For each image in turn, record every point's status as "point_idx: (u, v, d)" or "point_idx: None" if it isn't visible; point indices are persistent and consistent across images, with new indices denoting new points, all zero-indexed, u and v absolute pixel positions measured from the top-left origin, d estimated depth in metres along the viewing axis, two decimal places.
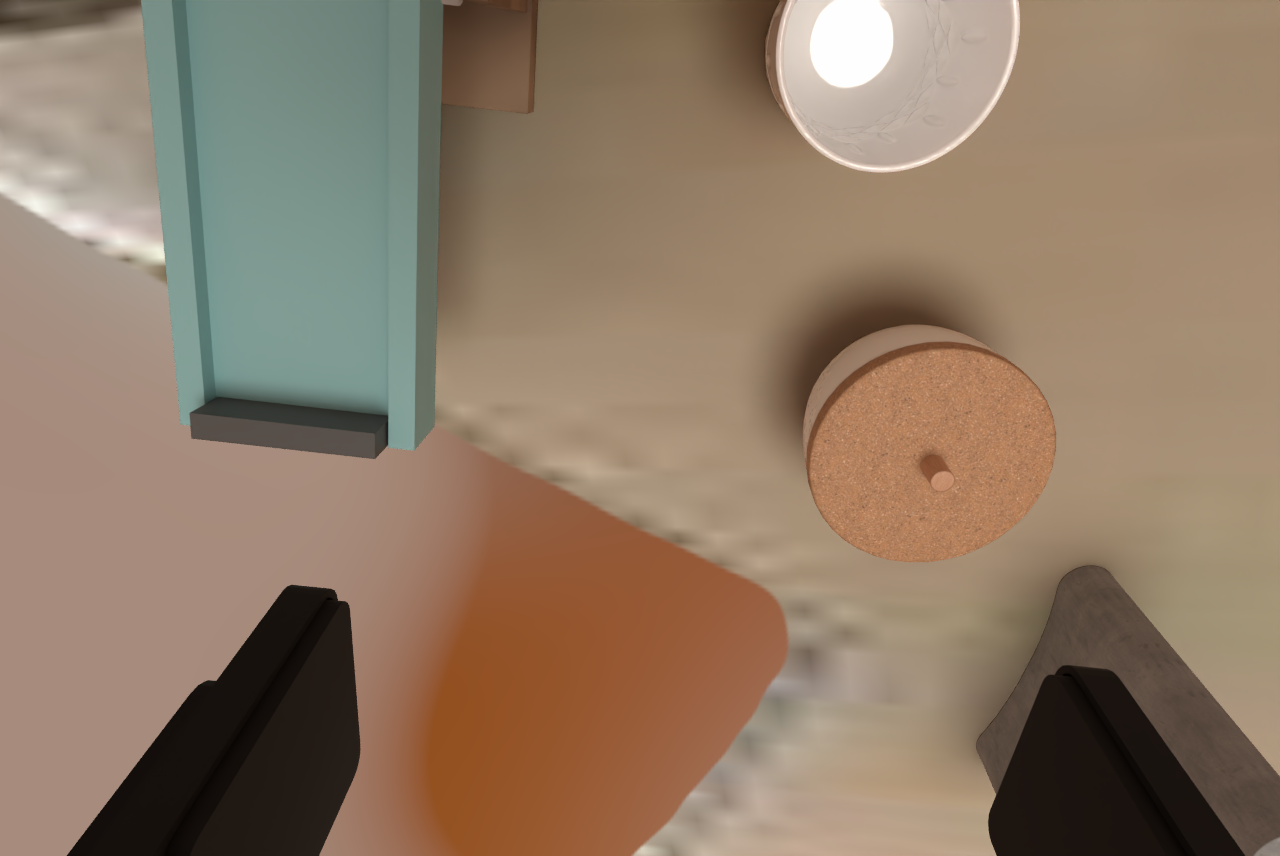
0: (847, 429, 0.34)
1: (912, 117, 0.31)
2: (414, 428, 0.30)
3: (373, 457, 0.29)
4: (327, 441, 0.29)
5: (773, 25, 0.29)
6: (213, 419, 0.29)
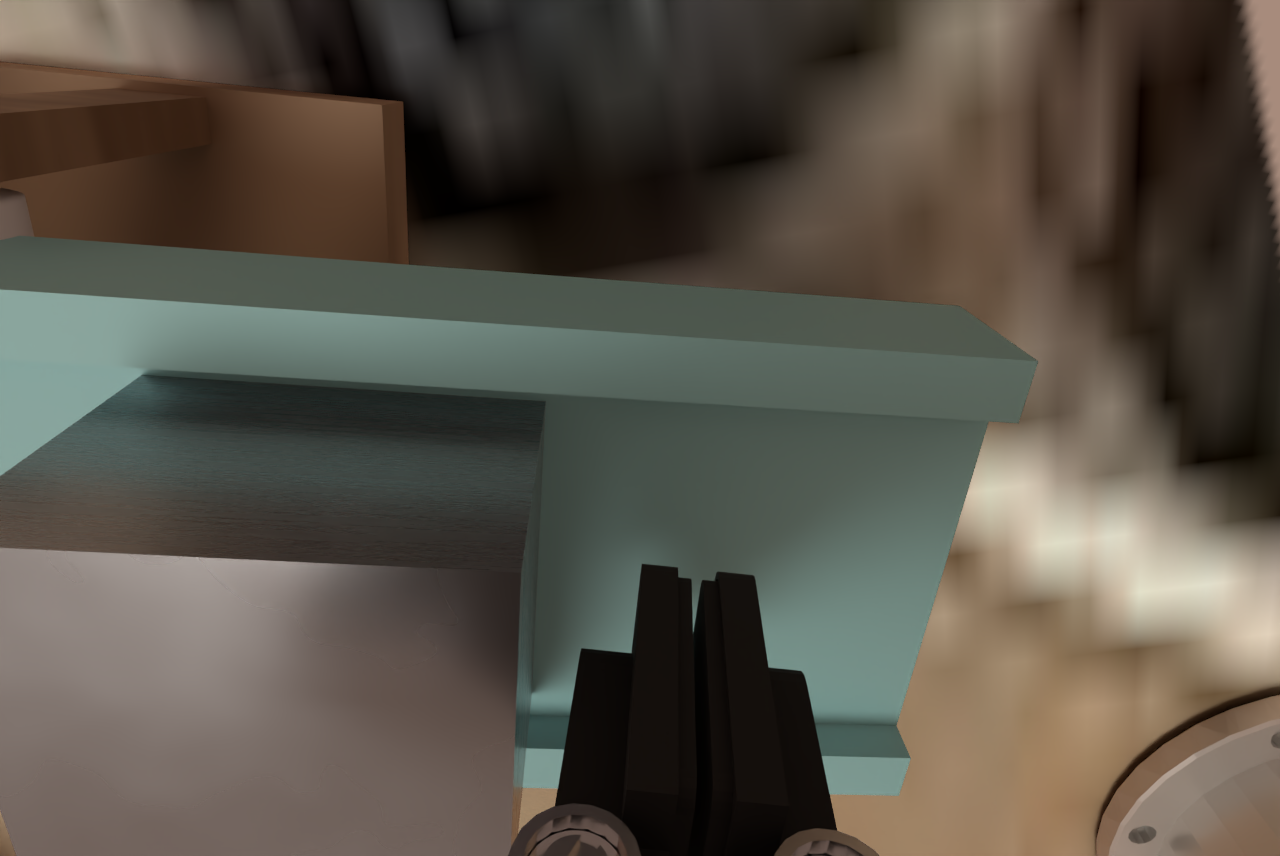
0: None
1: None
2: None
3: None
4: None
5: None
6: None
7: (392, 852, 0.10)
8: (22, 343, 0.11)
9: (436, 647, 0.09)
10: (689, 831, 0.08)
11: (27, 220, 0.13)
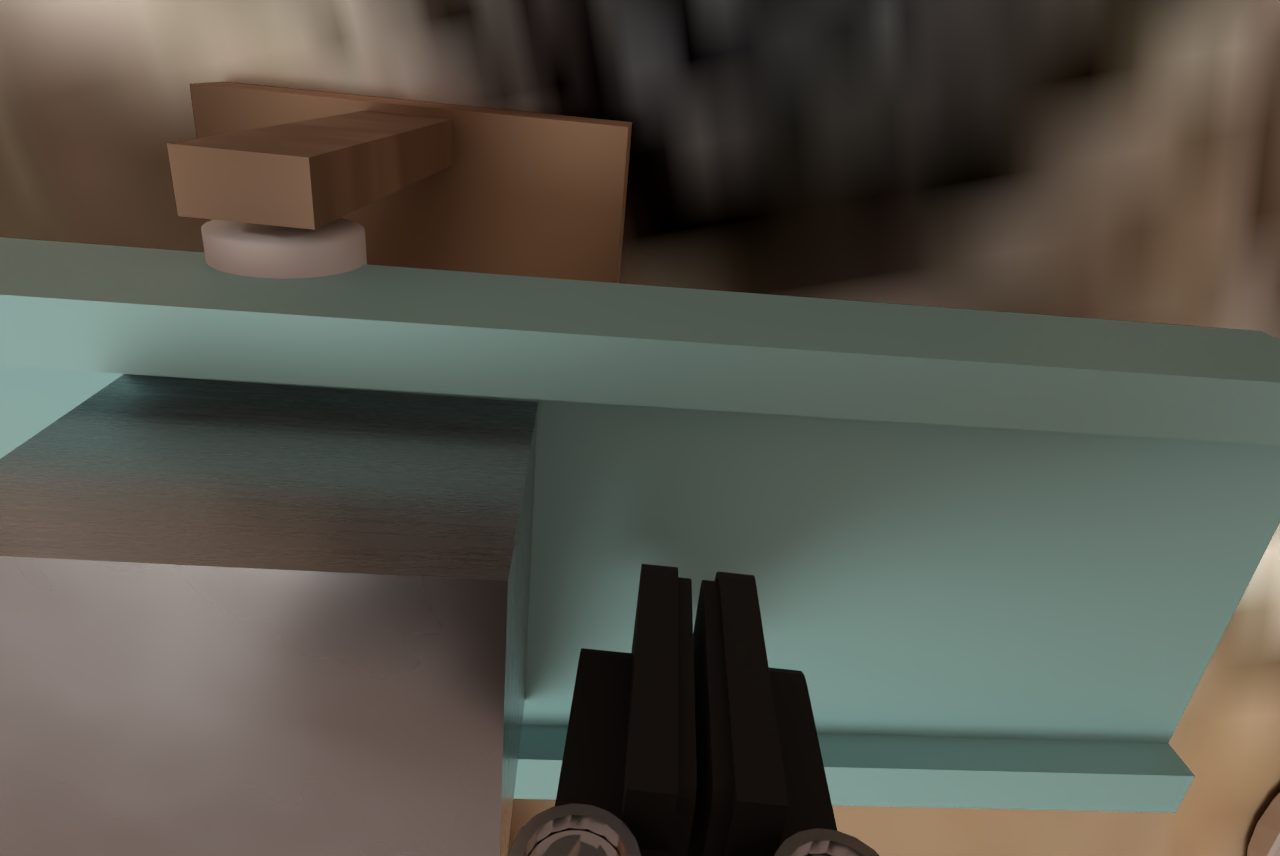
0: None
1: None
2: None
3: None
4: None
5: None
6: None
7: None
8: (433, 375, 0.11)
9: (420, 656, 0.08)
10: (689, 831, 0.08)
11: None
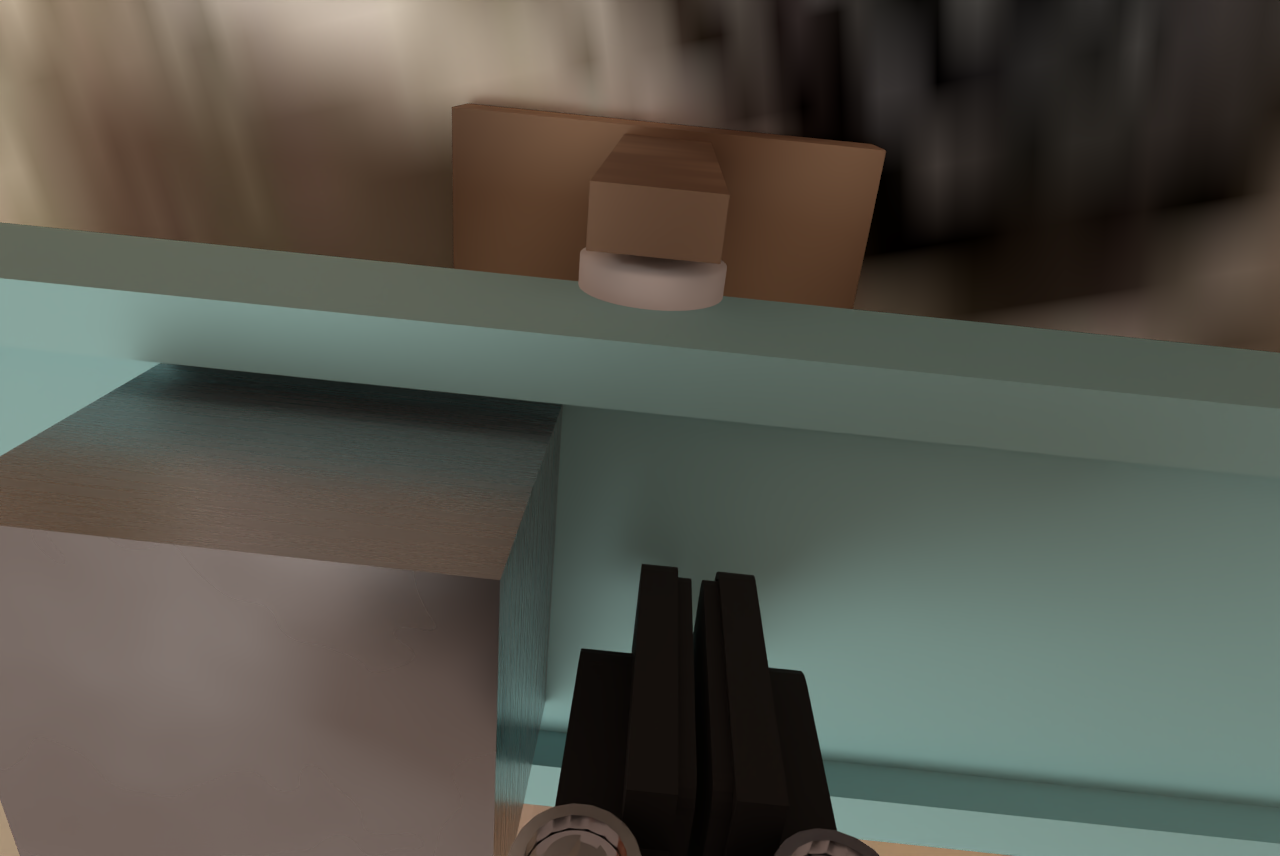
0: None
1: None
2: None
3: None
4: None
5: None
6: None
7: None
8: (841, 416, 0.11)
9: (413, 652, 0.08)
10: (689, 831, 0.08)
11: None
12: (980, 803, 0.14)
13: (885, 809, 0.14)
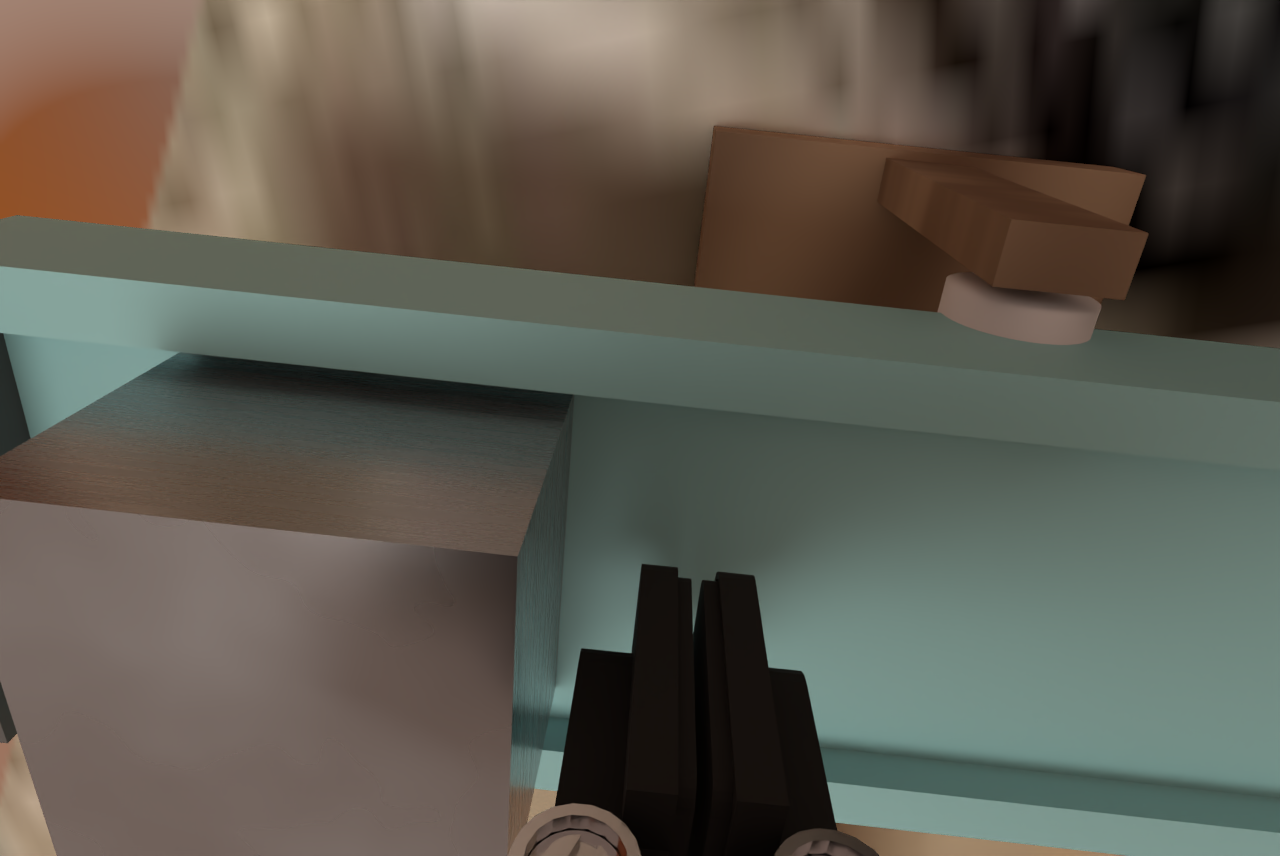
0: None
1: None
2: None
3: None
4: None
5: None
6: None
7: (390, 832, 0.10)
8: (1271, 453, 0.11)
9: (432, 627, 0.09)
10: (689, 831, 0.08)
11: None
12: None
13: (1220, 834, 0.14)
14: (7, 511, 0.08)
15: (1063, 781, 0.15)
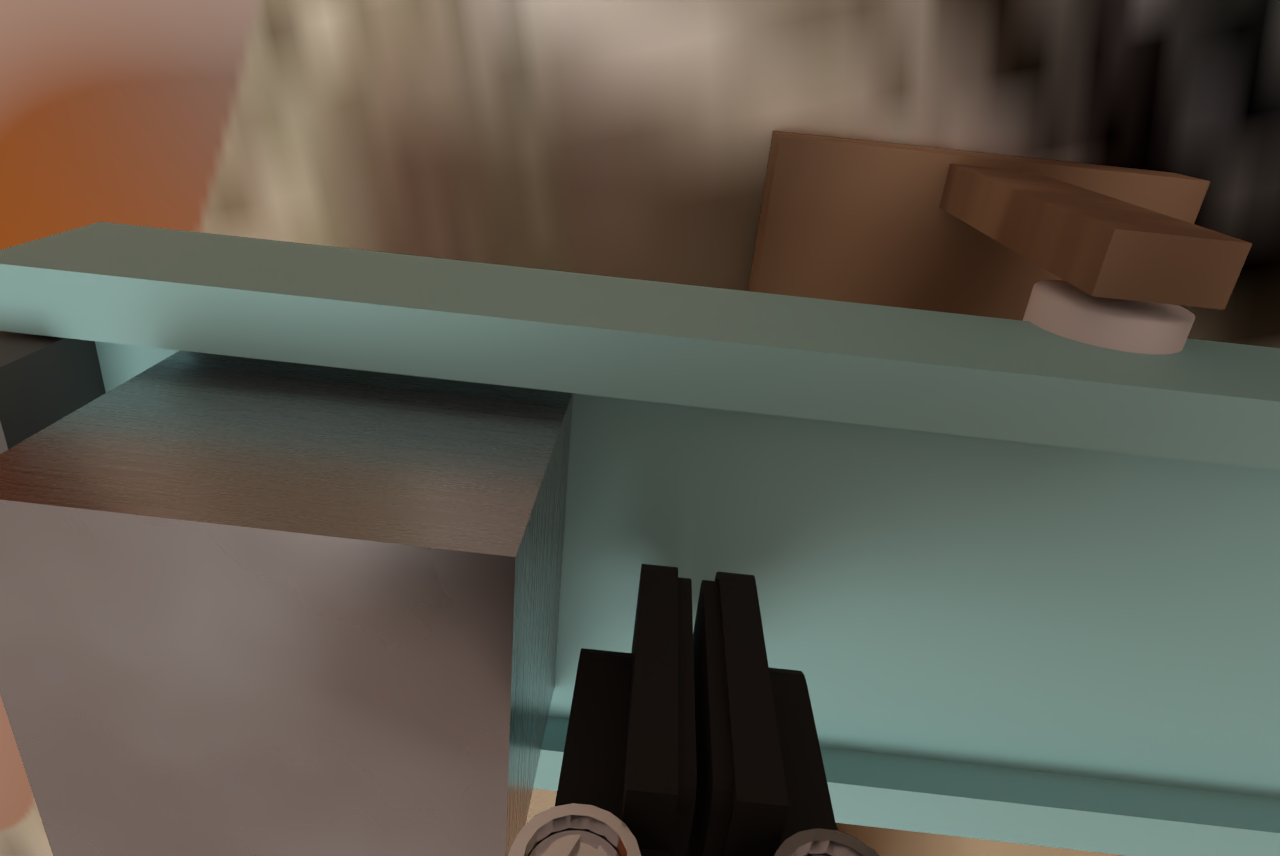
0: None
1: None
2: None
3: None
4: None
5: None
6: None
7: (388, 833, 0.10)
8: None
9: (430, 628, 0.09)
10: (689, 831, 0.08)
11: None
12: None
13: None
14: (3, 511, 0.08)
15: (1142, 790, 0.15)
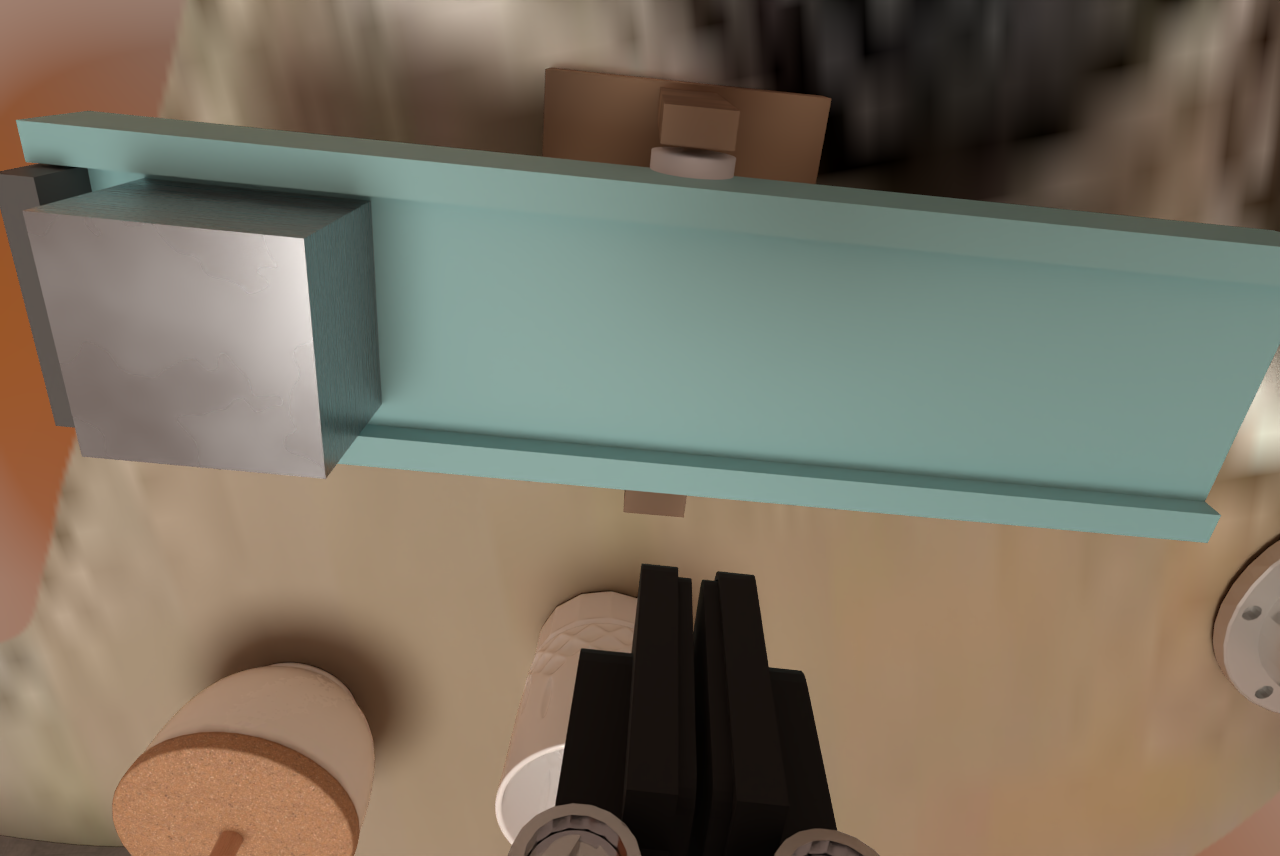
0: (248, 776, 0.34)
1: (549, 754, 0.37)
2: None
3: (57, 423, 0.22)
4: (59, 368, 0.21)
5: None
6: None
7: (257, 413, 0.19)
8: (800, 228, 0.21)
9: (267, 280, 0.18)
10: (689, 831, 0.08)
11: None
12: (885, 481, 0.24)
13: (830, 485, 0.24)
14: (56, 220, 0.17)
15: (742, 461, 0.24)
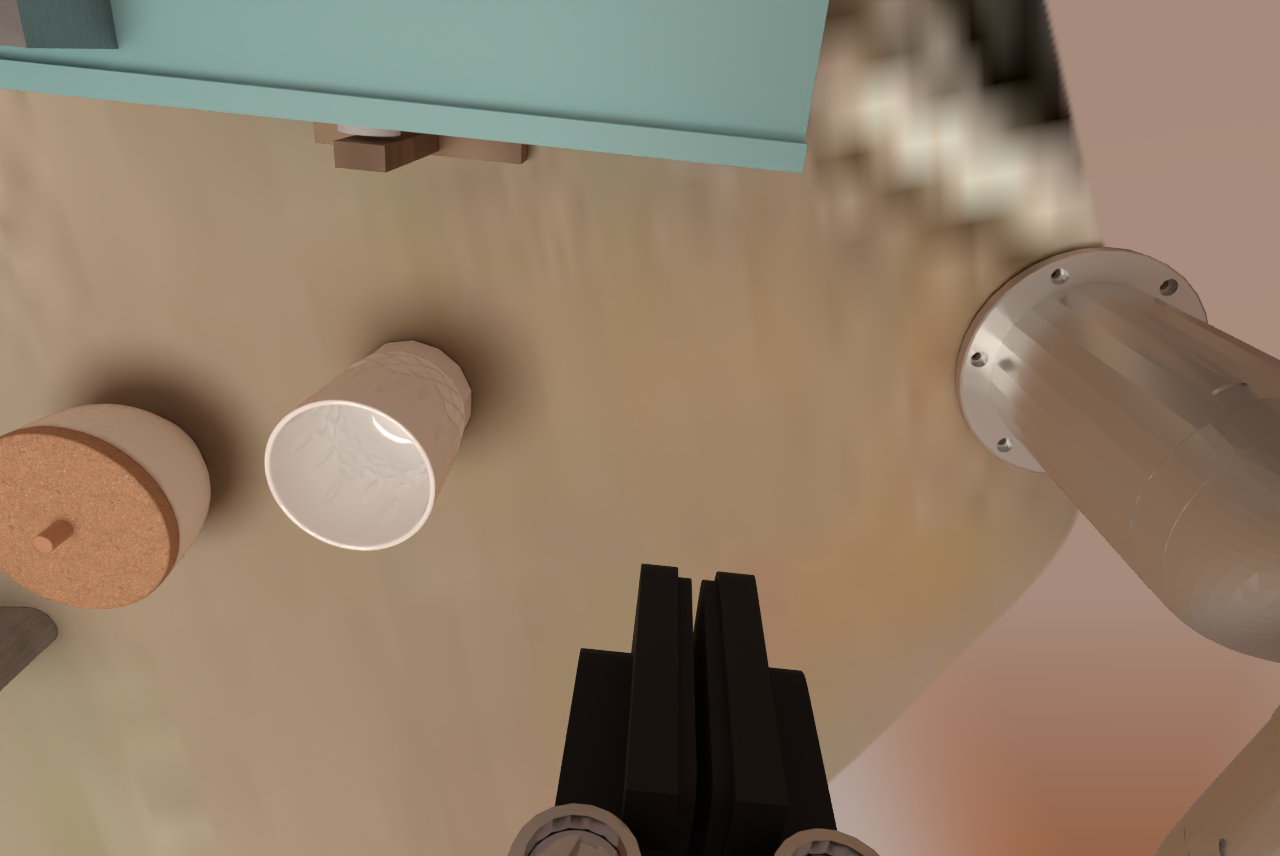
0: (70, 461, 0.39)
1: (345, 470, 0.42)
2: None
3: None
4: None
5: (378, 377, 0.38)
6: None
7: None
8: None
9: None
10: (689, 831, 0.08)
11: None
12: (526, 114, 0.29)
13: (478, 115, 0.29)
14: None
15: (412, 101, 0.29)
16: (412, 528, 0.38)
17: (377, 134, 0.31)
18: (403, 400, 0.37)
